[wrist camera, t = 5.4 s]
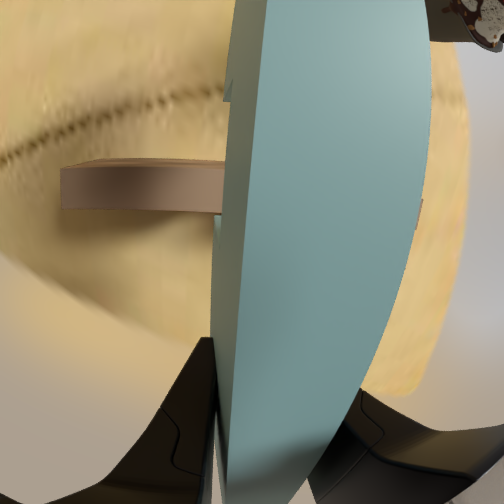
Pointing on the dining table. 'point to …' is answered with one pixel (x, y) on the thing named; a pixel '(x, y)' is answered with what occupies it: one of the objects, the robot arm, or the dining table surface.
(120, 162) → the walnut slotted plate
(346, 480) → the robot arm
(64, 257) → the dining table surface
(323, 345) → the teal slotted plate
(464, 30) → the sundae
